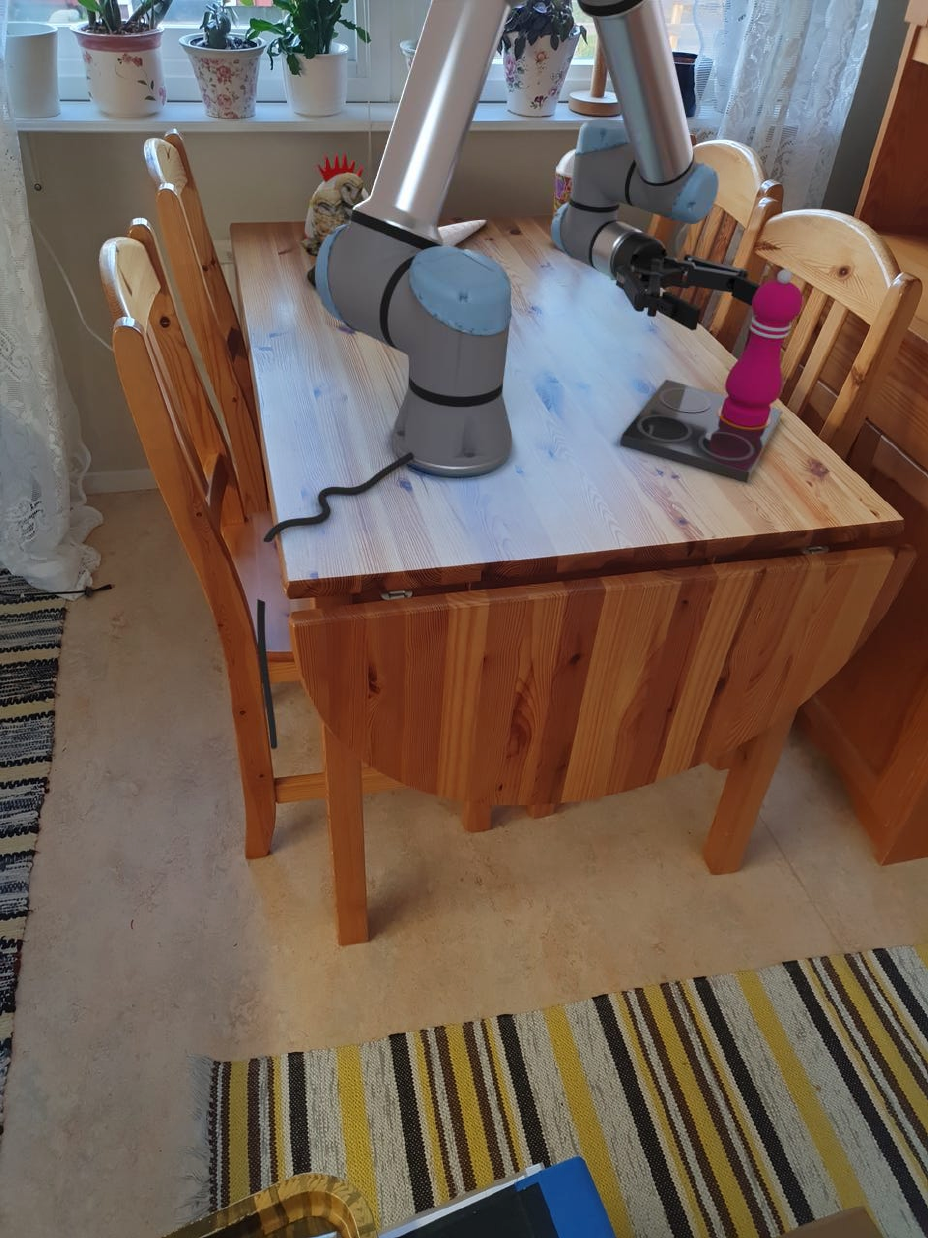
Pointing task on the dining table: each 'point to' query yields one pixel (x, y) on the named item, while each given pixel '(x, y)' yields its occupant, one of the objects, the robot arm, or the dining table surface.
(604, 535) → the dining table surface
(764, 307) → the pepper mill
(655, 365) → the dining table surface
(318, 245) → the owl figurine
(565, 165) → the smoothie
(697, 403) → the hob
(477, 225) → the unicorn horn
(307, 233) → the skull with red mohawk
